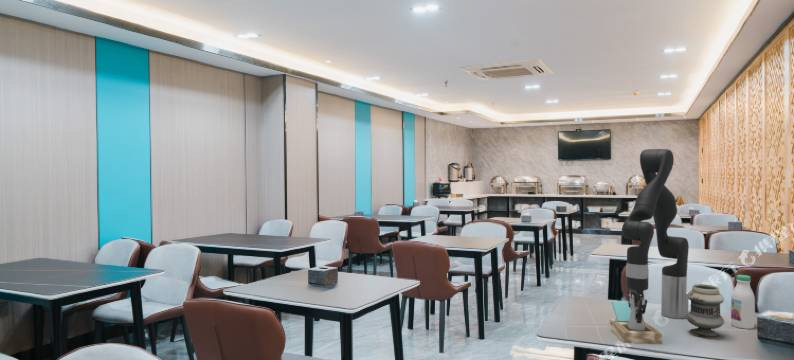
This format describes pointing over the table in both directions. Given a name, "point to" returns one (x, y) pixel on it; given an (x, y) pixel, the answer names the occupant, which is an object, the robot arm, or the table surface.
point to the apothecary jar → (705, 310)
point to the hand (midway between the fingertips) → (636, 322)
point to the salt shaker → (635, 321)
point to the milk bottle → (743, 304)
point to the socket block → (636, 333)
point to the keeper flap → (621, 311)
